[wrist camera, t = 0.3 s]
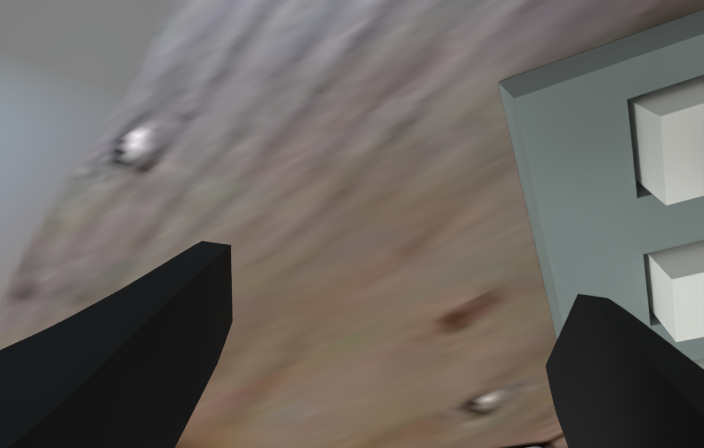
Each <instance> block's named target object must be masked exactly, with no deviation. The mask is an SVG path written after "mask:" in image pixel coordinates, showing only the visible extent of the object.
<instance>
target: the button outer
mask: <svg viewBox="0 0 704 448" xmlns="http://www.w3.org/2000/svg"><path fill="white" fill-rule="evenodd" d="M627 103H628V113H629V123H630V133H631V142H632V152H633V162H634V171H635V180H637V181H638V182H639V183H640V184H641V185H643V186H644V187H645V188H646V189H647V190H649V191H650V192H651V193H652V194H653V195H654V196H656V197H657V198H658V199H659V200H660V201H662V202H663V203H664V204H665V205H666V206H667V205H670V204H674V203H678V202H682V201H686V200H689V199H693V198H697V197H701V196H704V75H701V76H698V77H695V78H692V79H689V80H686V81H683V82H680V83H676V84H673V85H670V86H667V87H664V88H661V89H658V90H655V91H652V92H649V93H645V94H642V95H639V96H636V97H633V98H630V99H627Z"/></svg>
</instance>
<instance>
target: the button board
mask: <svg viewBox="0 0 704 448" xmlns="http://www.w3.org/2000/svg"><path fill="white" fill-rule="evenodd" d="M701 75H704V10H701V11H698V12H695V13H692V14H689V15H687V16H684V17H681V18H678V19H675V20H672V21H670V22H667V23H664V24H661V25H658V26H655V27H653V28H650V29H647V30H644V31H641V32H638V33H636V34H633V35H630V36H627V37H624V38H621V39H619V40H616V41H613V42H610V43H607V44H605V45H602V46H599V47H596V48H593V49H590V50H588V51H585V52H582V53H579V54H576V55H573V56H571V57H568V58H565V59H562V60H559V61H556V62H554V63H551V64H548V65H545V66H542V67H539V68H537V69H534V70H531V71H528V72H525V73H522V74H520V75H517V76H514V77H511V78H508V79H505V80H503V81H500V82H498V84H499V89H500V93H501V97H502V102H503V106H504V111H505V115H506V119H507V124H508V128H509V132H510V137H511V141H512V146H513V150H514V154H515V159H516V163H517V167H518V172H519V176H520V180H521V185H522V189H523V194H524V198H525V202H526V207H527V211H528V215H529V220H530V224H531V229H532V233H533V237H534V242H535V246H536V250H537V255H538V259H539V263H540V268H541V272H542V277H543V281H544V285H545V290H546V294H547V298H548V303H549V307H550V311H551V316H552V320H553V325H554V329H555V333H556V338H557V339H558V337H559V335H560V332H561V330H562V328H563V326H564V323H565V321H566V319H567V317H568V315H569V312H570V310H571V308H572V306H573V303H574V301H575V299H576V297H577V294H584V295H591V296H598V297H605V298H609V299H610V300H612V301H613V302H615V303H617V304H618V305H620V306H621V307H622V308H624V309H625V310H627V311H628V312H629V313H631V314H632V315H634V316H635V317H636V318H638V319H639V320H640V321H642V322H643V323H644V324H646V325H647V326H648V327H649V328H651V329H652V330H653V331H655V332H656V333H657V334H659V335H660V336H661V337H662V338H664V339H665V340H666V341H668V342H669V343H670V344H672V345H673V346H674V347H675V348H677V349H678V350H679V351H681V352H682V353H683V354H684V355H686V356H687V357H688V358H690V359H691V360H692V361H693V360H698V359H704V337H701V338H696V339H691V340H685V341H680V342H676V341H675V340H674V339H673V338H672V336H671V335H670V334H669V332H668V331H667V330H666V328H665V327H664V326H663V325H662V323H661V322H660V321H659V319H658V318H657V317H656V316H655V314H654V313H653V312H652V310H651V309H650V308H649V306H648V297H647V288H646V278H645V268H644V259H643V254H647V253H651V252H655V251H659V250H663V249H667V248H671V247H676V246H680V245H684V244H688V243H692V242H696V241H700V240H704V196H701V197H697V198H693V199H689V200H686V201H682V202H678V203H674V204H670V205H667V206H666V205H665V204H664V203H663V202H662V201H660V200H659V199H658V198H657V197H656V196H654V195H653V194H652V193H651V192H650V191H649V190H647V189H646V188H645V187H644V186H643V185H641V184H640V183H639V182H638V181H637V180H635V171H634V162H633V152H632V142H631V133H630V123H629V113H628V103H627V99H630V98H633V97H636V96H639V95H642V94H645V93H649V92H652V91H655V90H658V89H661V88H664V87H667V86H670V85H673V84H676V83H680V82H683V81H686V80H689V79H692V78H695V77H698V76H701Z"/></svg>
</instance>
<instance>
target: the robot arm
mask: <svg viewBox="0 0 704 448" xmlns="http://www.w3.org/2000/svg"><path fill="white" fill-rule="evenodd" d="M232 321H233V319H232V276H231V245H227V244H219V243H212V242H205V241H201V242H199V243H198V244H196V245H194V246H192V247H190V248H189V249H187V250H185V251H184V252H182V253H180V254H179V255H177V256H176V257H174V258H172V259H171V260H169V261H167V262H166V263H164V264H162V265H161V266H159V267H158V268H156V269H154V270H153V271H151V272H149V273H148V274H146V275H144V276H143V277H141V278H139V279H138V280H136V281H134V282H132V283H131V284H129V285H127V286H126V287H124V288H122V289H121V290H119V291H117V292H115V293H113V294H112V295H110V296H108V297H106V298H104V299H102V300H101V301H99V302H97V303H95V304H93V305H91V306H89V307H88V308H86V309H84V310H82V311H80V312H78V313H77V314H75V315H73V316H71V317H69V318H67V319H65V320H63V321H61V322H59V323H57V324H55V325H53V326H51V327H49V328H47V329H45V330H43V331H41V332H39V333H37V334H35V335H33V336H30V337H28V338H26V339H24V340H21V341H19V342H17V343H15V344H13V345H10V346H8V347H6V348H4V349H1V350H0V448H175V446H176V444H177V442H178V440H179V438H180V436H181V434H182V432H183V431H184V429H185V427H186V425H187V423H188V421H189V419H190V417H191V415H192V413H193V411H194V409H195V407H196V405H197V403H198V401H199V399H200V397H201V395H202V393H203V391H204V389H205V387H206V385H207V383H208V381H209V379H210V377H211V375H212V373H213V371H214V369H215V367H216V365H217V363H218V360H219V358H220V355H221V352H222V350H223V347H224V344H225V341H226V338H227V335H228V333H229V330H230V327H231V324H232ZM546 370H547V375H548V380H549V385H550V390H551V394H552V398H553V402H554V406H555V411H556V414H557V417H558V420H559V423H560V425H561V428H562V431H563V434H564V436H565V439H566V442H567V445H568V447H569V448H704V369H703V368H701V367H700V366H699V365H698V364H696V363H695V362H694V361H692V360H691V359H690V358H688V357H687V356H686V355H684V354H683V353H682V352H681V351H679V350H678V349H677V348H675V347H674V346H673V345H672V344H670V343H669V342H668V341H666V340H665V339H664V338H662V337H661V336H660V335H659V334H657V333H656V332H655V331H653V330H652V329H651V328H649V327H648V326H647V325H646V324H644V323H643V322H642V321H640V320H639V319H638V318H636V317H635V316H634V315H632V314H631V313H629V312H628V311H627V310H625V309H624V308H622V307H621V306H620V305H618V304H617V303H615V302H613V301H612V300H610V299H609V298H605V297H598V296H591V295H584V294H577V297H576V299H575V301H574V303H573V306H572V308H571V310H570V312H569V315H568V317H567V319H566V321H565V323H564V326H563V328H562V330H561V332H560V335H559V337H558V339H557V341H556V344H555V346H554V348H553V350H552V353H551V355H550V357H549V359H548V361H547V364H546ZM527 448H541V447H538V446H534V447H527Z"/></svg>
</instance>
